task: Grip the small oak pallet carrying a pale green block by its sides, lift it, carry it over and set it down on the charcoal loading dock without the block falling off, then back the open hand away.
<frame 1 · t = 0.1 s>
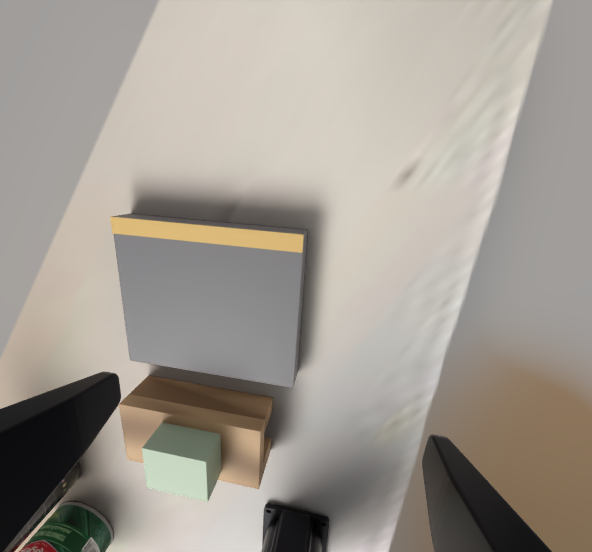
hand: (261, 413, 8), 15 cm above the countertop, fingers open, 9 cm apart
dock: (216, 295, 24), on the countertop
pale green block: (191, 447, 25), point 4 cm above the countertop, touching pallet
pallet: (210, 411, 28), on the countertop, touching pale green block
supplement bottle: (58, 458, 35), on the countertop
canned tomato: (86, 522, 37), on the countertop
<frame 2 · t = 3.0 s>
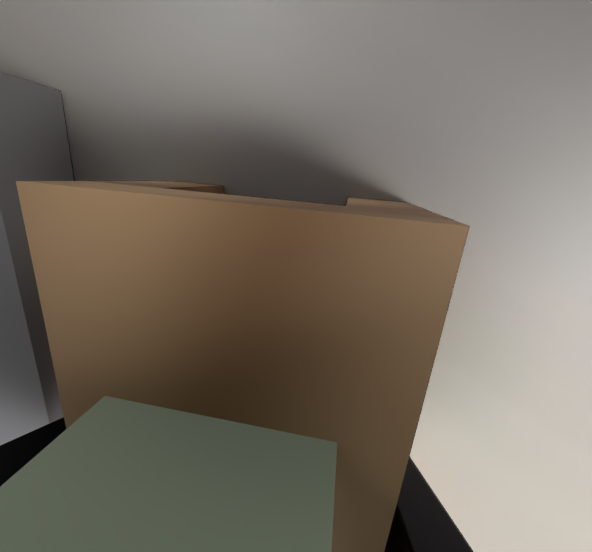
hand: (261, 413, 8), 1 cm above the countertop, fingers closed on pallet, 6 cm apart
pale green block: (216, 523, 6), point 4 cm above the countertop, touching pallet
pallet: (271, 388, 9), on the countertop, touching pale green block, gripper
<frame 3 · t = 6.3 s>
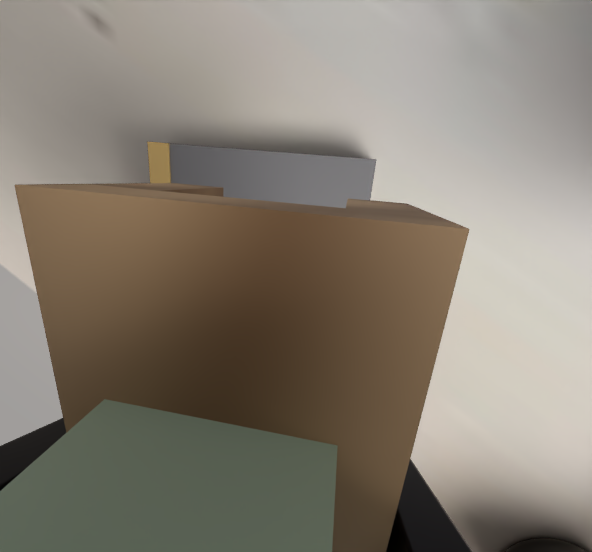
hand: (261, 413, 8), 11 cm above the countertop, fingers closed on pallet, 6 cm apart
dock: (261, 270, 19), on the countertop
pale green block: (216, 526, 6), point 14 cm above the countertop, touching pallet
pallet: (271, 390, 9), point 10 cm above the countertop, touching pale green block, gripper
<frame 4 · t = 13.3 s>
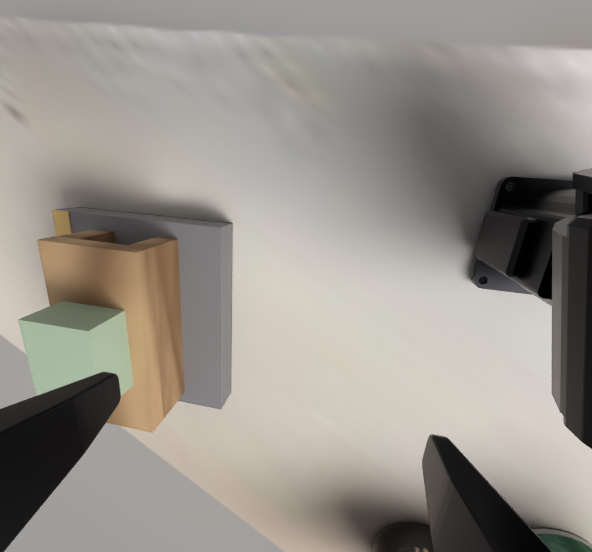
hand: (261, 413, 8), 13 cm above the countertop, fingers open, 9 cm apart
dock: (159, 304, 24), on the countertop
pale green block: (99, 343, 18), point 6 cm above the countertop, touching pallet
pallet: (143, 315, 22), point 2 cm above the countertop, touching pale green block, dock
supplement bottle: (411, 544, 27), on the countertop
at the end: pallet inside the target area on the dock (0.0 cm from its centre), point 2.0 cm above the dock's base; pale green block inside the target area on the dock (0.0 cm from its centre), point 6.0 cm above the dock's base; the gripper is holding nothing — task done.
